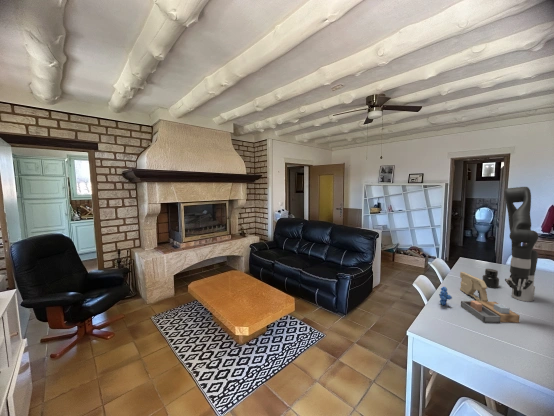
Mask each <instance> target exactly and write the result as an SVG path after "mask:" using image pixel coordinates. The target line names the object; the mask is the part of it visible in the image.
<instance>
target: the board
mask: <svg viewBox="0 0 554 416" xmlns="http://www.w3.org/2000/svg"><path fill="white" fill-rule="evenodd" d="M478 302H479V303H481V304H482V306H484V307H485V308H487V309H489V310H490V311H492V312H493V313H495V314H497V315H498V316H500V317H501V318H500V323H520V314H518V313H516V312H514V311H513V310H511V309H510V311H509V314H506V313H499V312H498V311H496V310H494V304H499V303H498V302H496V301H488V302H486V301H478Z"/></svg>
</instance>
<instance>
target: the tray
mask: <svg viewBox="0 0 554 416" xmlns="http://www.w3.org/2000/svg"><path fill="white" fill-rule="evenodd" d="M471 301H472V300H460V308H462V309H464V310H465V311H467V312H468V313H470V315H472V316H474V317H475V318H476V319H478V320H480V321H481V322H482V323H488V324H500V323H501V322H500V318H501V317H500V316H498V315H497V314H495V313H493V312H492V311H490V310H489V309H487V308H485V307H484V306H482V312H478V311H477V310H475V309H474V308H472V307H471V306H470V304H471Z"/></svg>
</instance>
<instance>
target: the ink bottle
mask: <svg viewBox="0 0 554 416" xmlns="http://www.w3.org/2000/svg"><path fill="white" fill-rule="evenodd" d="M498 273H499V271H498V270H497V269H494V268H485V269H484V274H483V276H482V280H483V281H484V282H485V284H486V286H487V288H491V289H498V288H499V287H500V277H498Z"/></svg>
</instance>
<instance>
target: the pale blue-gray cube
mask: <svg viewBox="0 0 554 416" xmlns="http://www.w3.org/2000/svg"><path fill="white" fill-rule="evenodd" d="M494 310H496V311H498V312H499V313H506V314H509V311H510V310H511V309H510V307H508V306H507V305H504V304H503V303H498V304H494Z"/></svg>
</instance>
